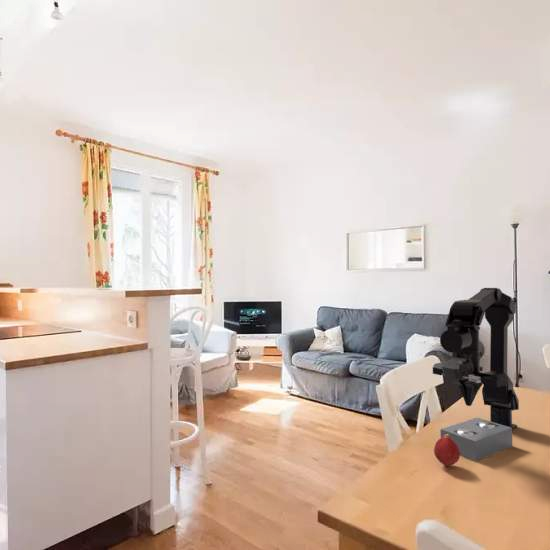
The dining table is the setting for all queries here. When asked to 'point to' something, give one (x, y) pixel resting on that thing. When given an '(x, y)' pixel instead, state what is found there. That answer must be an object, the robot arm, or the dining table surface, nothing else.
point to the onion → (447, 451)
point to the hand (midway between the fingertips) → (468, 405)
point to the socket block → (479, 438)
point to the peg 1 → (465, 432)
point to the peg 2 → (487, 425)
